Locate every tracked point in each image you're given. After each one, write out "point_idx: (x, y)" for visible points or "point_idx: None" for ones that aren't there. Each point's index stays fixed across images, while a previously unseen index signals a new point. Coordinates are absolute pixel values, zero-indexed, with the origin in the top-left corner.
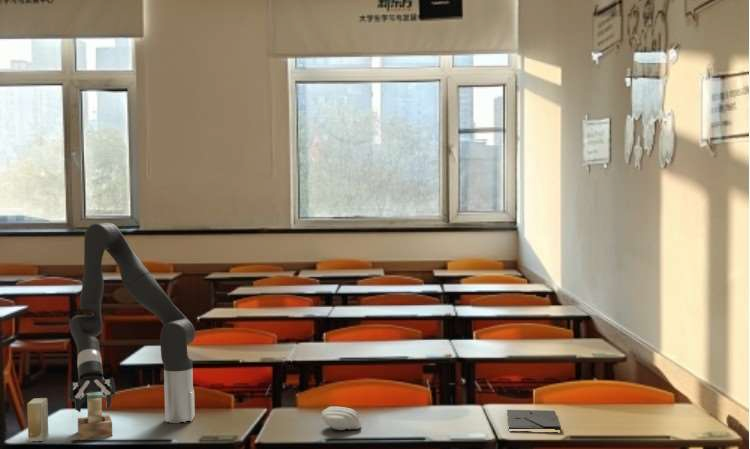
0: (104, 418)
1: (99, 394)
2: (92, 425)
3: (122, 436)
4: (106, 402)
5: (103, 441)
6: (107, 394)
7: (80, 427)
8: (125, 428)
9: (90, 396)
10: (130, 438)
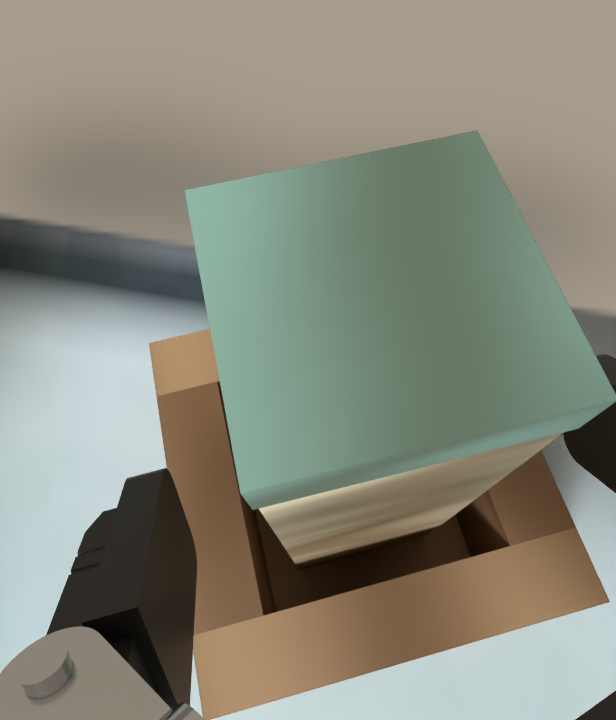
0: (248, 534)
1: (233, 200)
2: None
3: (103, 369)
4: (167, 538)
5: None
6: (88, 641)
7: None
8: None
9: (417, 152)
10: (46, 308)
